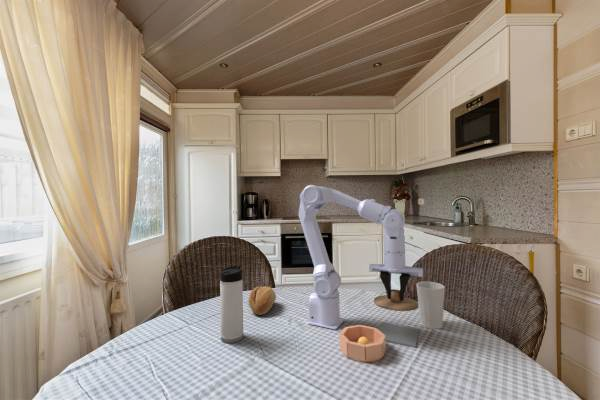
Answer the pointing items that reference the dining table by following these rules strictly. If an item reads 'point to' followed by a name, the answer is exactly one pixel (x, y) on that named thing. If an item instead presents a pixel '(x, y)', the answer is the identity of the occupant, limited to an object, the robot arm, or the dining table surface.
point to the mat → (399, 334)
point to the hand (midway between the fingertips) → (395, 298)
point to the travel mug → (231, 304)
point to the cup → (431, 304)
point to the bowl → (361, 351)
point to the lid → (396, 302)
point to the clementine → (363, 340)
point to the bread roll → (261, 299)
